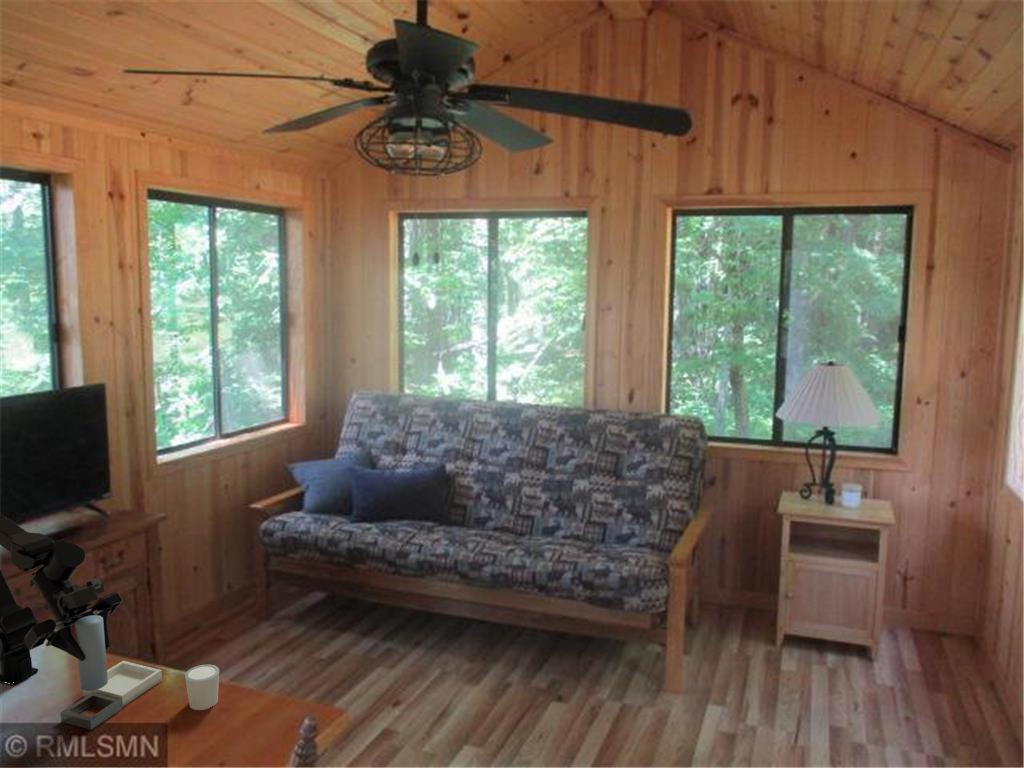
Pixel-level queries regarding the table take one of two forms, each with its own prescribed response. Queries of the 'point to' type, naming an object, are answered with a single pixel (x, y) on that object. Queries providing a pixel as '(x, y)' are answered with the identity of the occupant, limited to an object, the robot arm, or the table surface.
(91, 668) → the post
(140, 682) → the tray
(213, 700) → the white cup
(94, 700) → the socket
